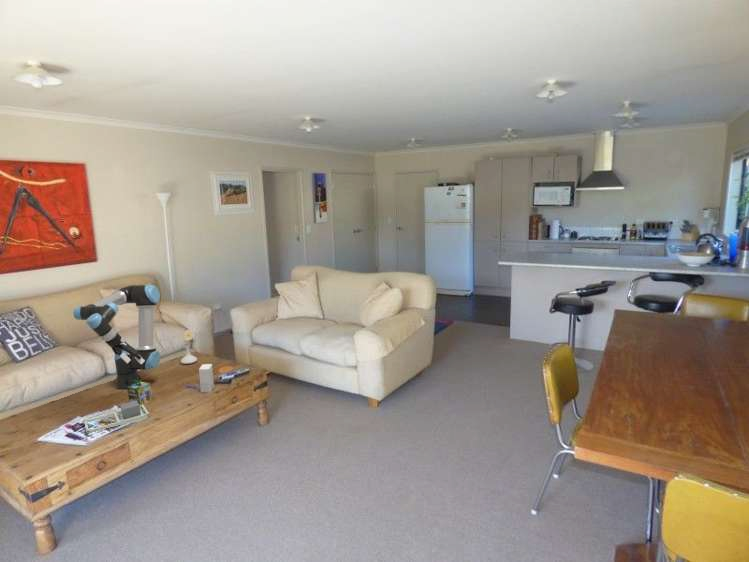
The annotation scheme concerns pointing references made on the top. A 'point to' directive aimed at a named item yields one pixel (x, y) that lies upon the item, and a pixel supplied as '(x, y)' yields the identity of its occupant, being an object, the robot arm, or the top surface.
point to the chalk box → (140, 392)
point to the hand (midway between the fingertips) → (135, 362)
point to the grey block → (130, 410)
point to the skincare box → (206, 378)
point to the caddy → (143, 416)
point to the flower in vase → (188, 357)
